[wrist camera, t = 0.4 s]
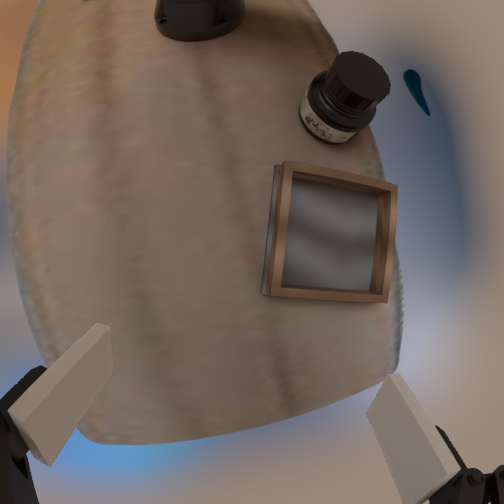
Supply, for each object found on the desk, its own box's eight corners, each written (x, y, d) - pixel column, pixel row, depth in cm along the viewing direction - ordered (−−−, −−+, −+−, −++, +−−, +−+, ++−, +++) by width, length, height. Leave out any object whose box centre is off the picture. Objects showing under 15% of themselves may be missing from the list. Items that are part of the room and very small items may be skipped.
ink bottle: (283, 108, 34) (304, 57, 22) (324, 81, 34) (353, 34, 22) (331, 159, 35) (373, 125, 23) (369, 128, 35) (413, 92, 23)
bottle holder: (274, 166, 34) (280, 155, 29) (383, 188, 35) (400, 182, 31) (260, 292, 34) (265, 299, 30) (373, 300, 36) (389, 307, 31)
